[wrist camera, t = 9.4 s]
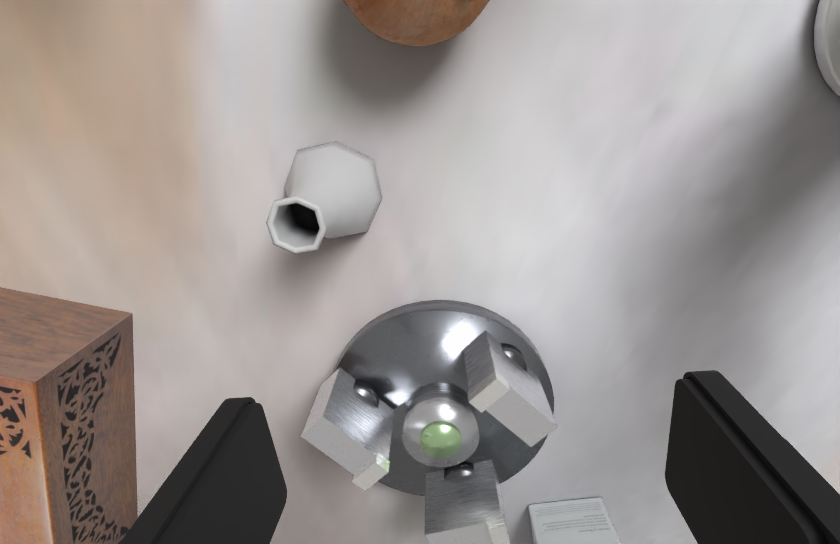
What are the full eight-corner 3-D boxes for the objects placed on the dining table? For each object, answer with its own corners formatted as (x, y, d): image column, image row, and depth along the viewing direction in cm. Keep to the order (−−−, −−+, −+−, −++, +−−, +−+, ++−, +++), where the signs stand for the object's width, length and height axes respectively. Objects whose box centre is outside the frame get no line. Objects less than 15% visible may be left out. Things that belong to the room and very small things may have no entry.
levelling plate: (579, 327, 37) (603, 364, 31) (511, 496, 43) (521, 549, 38) (352, 277, 36) (338, 307, 30) (318, 458, 42) (302, 507, 37)
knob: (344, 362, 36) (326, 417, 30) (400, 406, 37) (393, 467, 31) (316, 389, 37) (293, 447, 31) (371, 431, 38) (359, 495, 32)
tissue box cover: (-43, 277, 37) (-204, 337, 27) (134, 311, 38) (35, 381, 28) (-2, 503, 46) (-113, 606, 37) (139, 528, 47) (66, 634, 37)
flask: (378, 243, 35) (358, 295, 25) (285, 231, 34) (230, 280, 25) (386, 147, 32) (368, 166, 23) (286, 134, 32) (225, 148, 22)
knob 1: (510, 398, 37) (526, 458, 30) (457, 353, 35) (462, 407, 29) (543, 371, 36) (567, 427, 29) (490, 324, 34) (503, 373, 28)
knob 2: (423, 468, 39) (422, 536, 33) (491, 453, 39) (502, 520, 32) (435, 498, 41) (436, 568, 34) (500, 484, 40) (513, 554, 34)
